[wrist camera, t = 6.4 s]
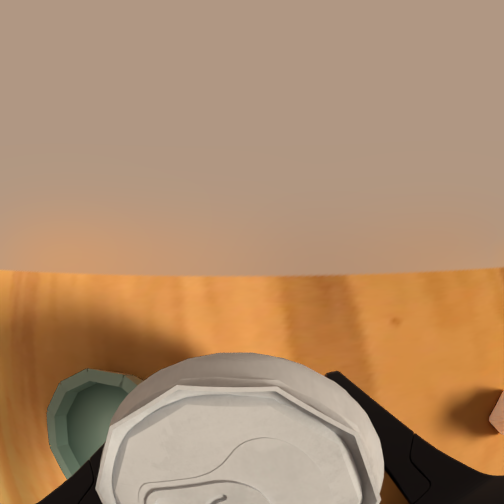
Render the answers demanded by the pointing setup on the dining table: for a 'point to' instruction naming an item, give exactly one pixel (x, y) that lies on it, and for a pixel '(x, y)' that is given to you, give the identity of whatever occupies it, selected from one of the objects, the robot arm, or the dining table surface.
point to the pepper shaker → (498, 415)
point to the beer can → (240, 437)
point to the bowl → (84, 414)
